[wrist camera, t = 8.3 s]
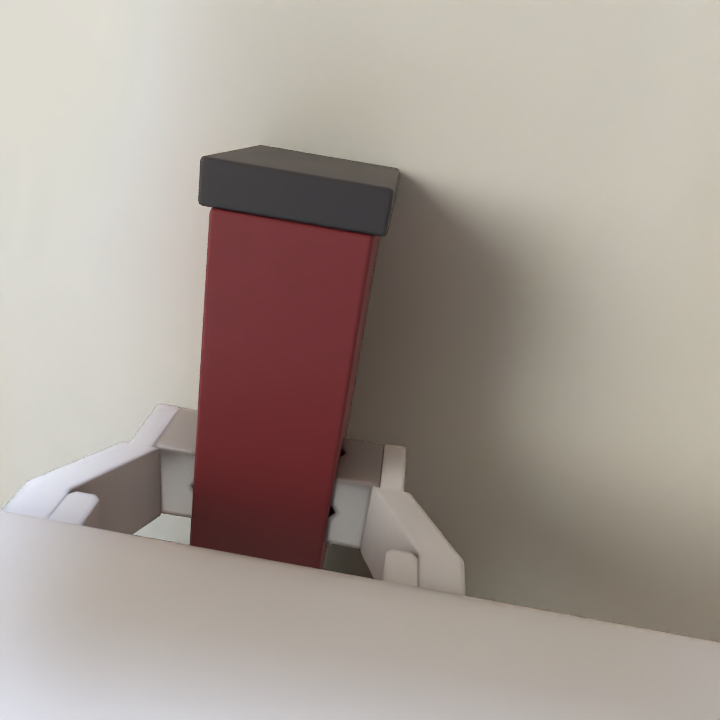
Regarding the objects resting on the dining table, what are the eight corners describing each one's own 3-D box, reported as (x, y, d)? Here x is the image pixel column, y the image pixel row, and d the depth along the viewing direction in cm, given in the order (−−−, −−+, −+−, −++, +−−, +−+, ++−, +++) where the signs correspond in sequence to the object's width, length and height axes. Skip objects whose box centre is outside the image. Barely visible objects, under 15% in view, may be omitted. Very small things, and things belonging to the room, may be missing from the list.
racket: (64, 111, 14) (-67, 109, 10) (597, 202, 13) (668, 235, 10) (84, 794, 23) (19, 926, 19) (402, 855, 22) (400, 1001, 19)
